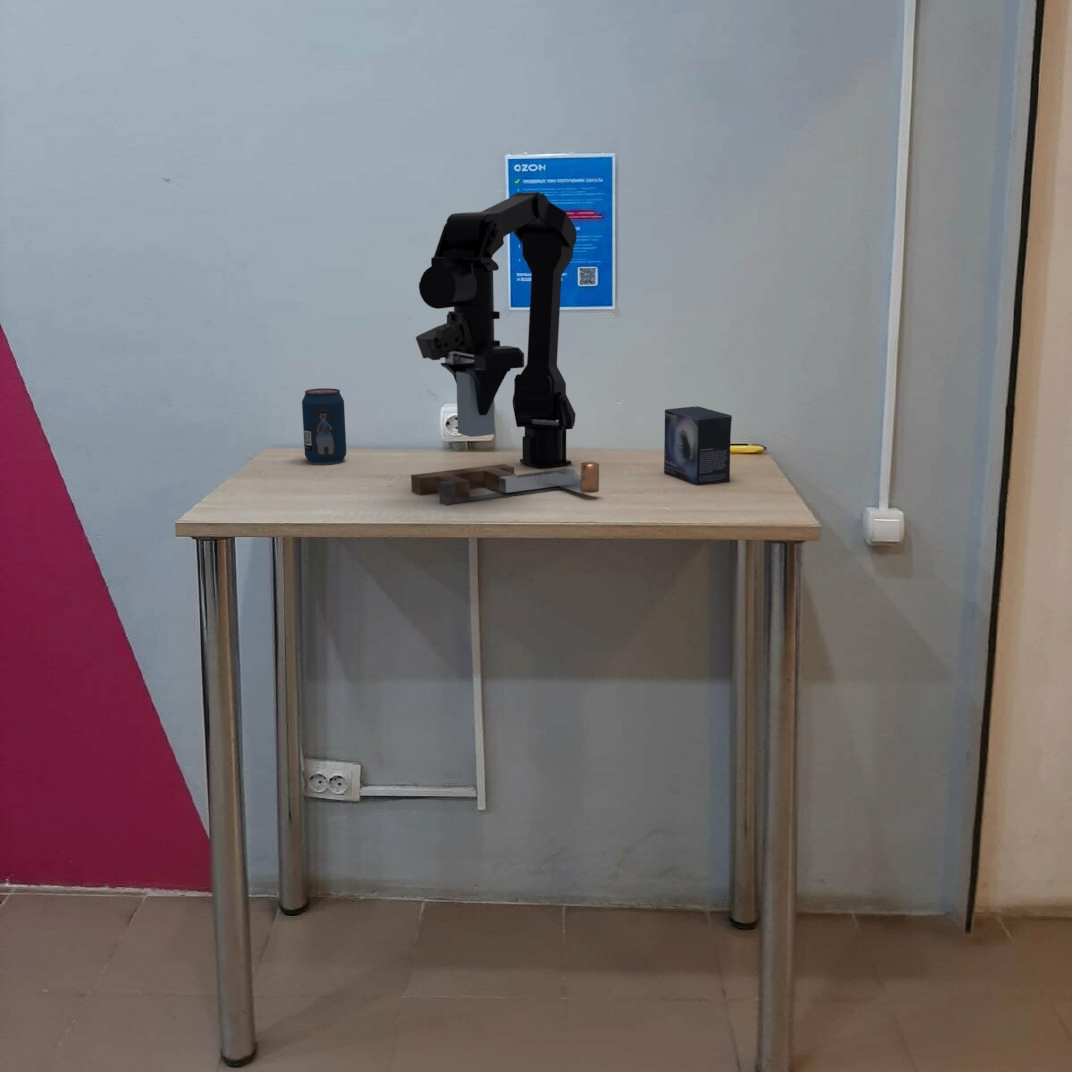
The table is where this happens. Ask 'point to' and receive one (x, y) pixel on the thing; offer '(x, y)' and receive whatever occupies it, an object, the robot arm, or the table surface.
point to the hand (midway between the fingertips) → (475, 413)
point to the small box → (697, 445)
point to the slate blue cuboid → (471, 409)
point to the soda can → (324, 426)
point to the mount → (467, 483)
